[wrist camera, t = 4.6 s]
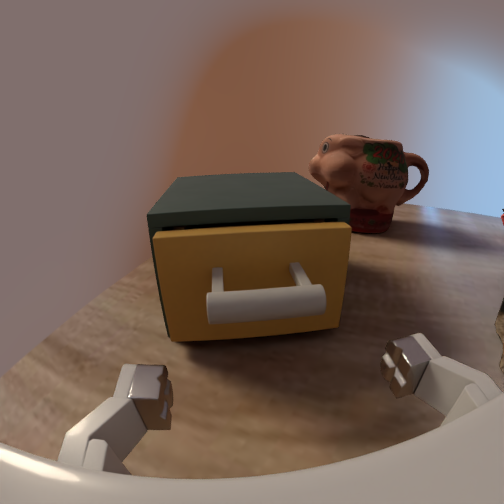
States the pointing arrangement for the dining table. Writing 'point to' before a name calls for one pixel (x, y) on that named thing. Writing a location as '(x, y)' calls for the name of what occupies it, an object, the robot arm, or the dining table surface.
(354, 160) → the brown ceramic mug
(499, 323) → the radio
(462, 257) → the dining table surface
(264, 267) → the drawer
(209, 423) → the dining table surface
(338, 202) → the cabinet
